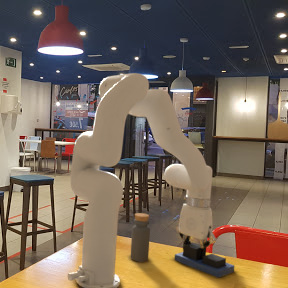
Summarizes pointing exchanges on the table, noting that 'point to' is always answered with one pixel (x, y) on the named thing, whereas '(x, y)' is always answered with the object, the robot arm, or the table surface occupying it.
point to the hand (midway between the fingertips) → (193, 255)
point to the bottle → (140, 238)
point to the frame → (205, 266)
